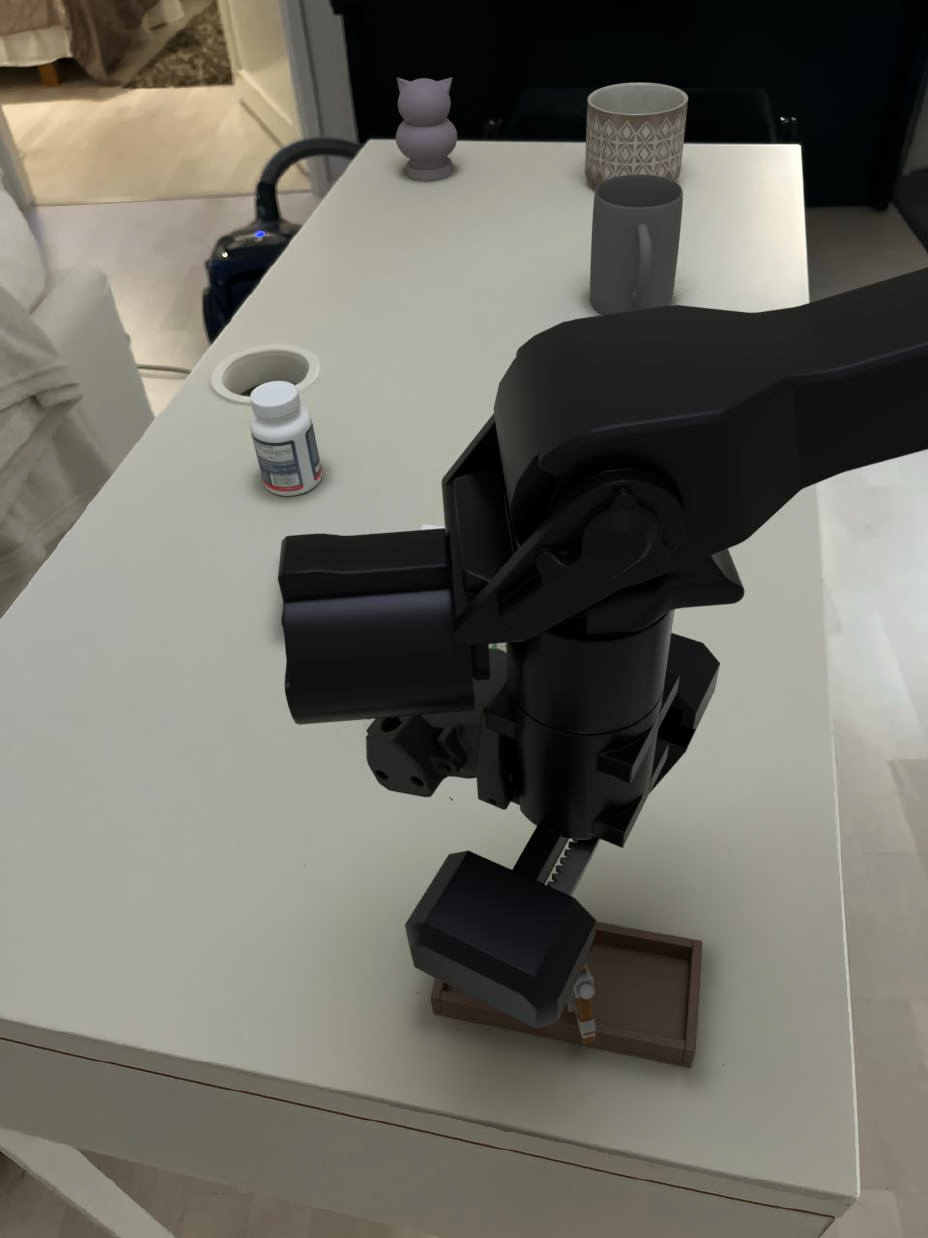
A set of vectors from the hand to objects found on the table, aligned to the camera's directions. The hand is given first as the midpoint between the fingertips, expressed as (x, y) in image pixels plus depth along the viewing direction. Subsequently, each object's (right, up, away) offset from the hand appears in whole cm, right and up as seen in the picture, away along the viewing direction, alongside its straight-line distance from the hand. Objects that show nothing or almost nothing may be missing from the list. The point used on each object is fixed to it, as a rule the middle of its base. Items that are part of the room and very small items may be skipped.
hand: (572, 896), depth 47 cm
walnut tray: (0, -7, +6) cm, 9 cm away
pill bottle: (-20, +25, +41) cm, 52 cm away
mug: (+13, +46, +60) cm, 77 cm away
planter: (+18, +72, +86) cm, 114 cm away
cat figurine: (-10, +76, +92) cm, 120 cm away
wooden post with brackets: (0, -5, +5) cm, 8 cm away
